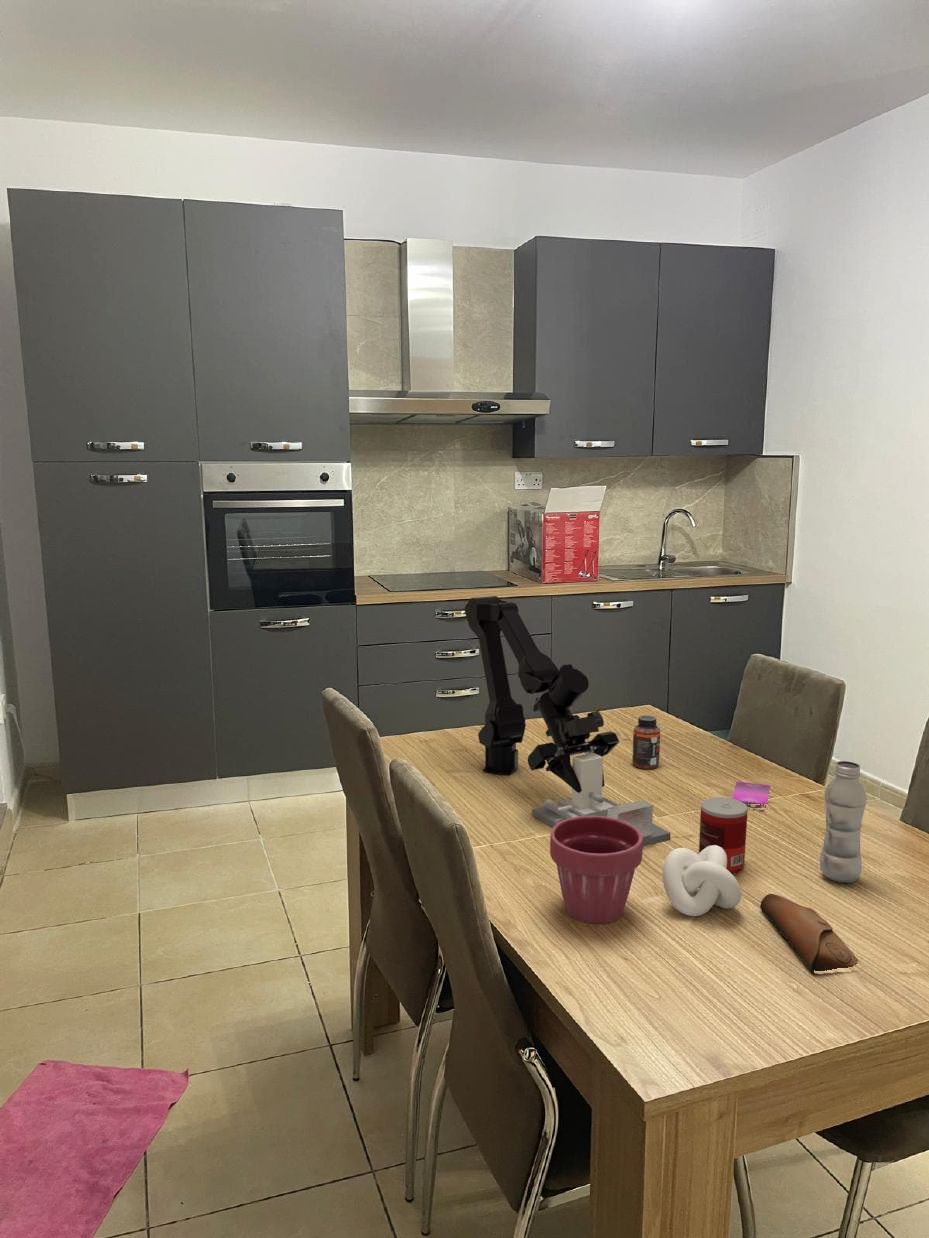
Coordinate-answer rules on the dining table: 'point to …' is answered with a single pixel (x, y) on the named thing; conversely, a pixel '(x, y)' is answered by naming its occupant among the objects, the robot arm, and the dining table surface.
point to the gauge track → (554, 816)
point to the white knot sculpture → (699, 880)
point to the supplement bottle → (646, 743)
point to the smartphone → (752, 794)
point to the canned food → (724, 829)
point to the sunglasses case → (808, 934)
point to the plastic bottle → (843, 824)
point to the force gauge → (587, 787)
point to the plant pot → (595, 865)
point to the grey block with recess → (635, 815)
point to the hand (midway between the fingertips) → (591, 789)
